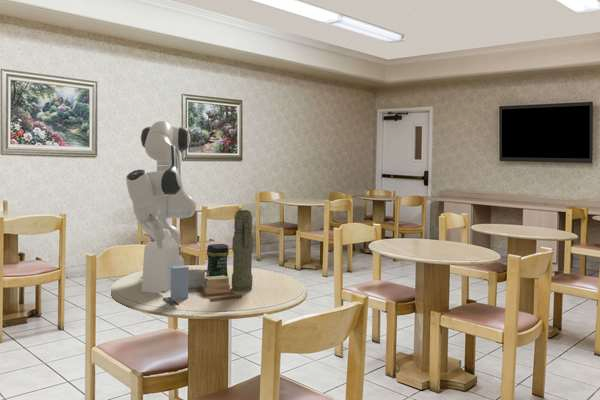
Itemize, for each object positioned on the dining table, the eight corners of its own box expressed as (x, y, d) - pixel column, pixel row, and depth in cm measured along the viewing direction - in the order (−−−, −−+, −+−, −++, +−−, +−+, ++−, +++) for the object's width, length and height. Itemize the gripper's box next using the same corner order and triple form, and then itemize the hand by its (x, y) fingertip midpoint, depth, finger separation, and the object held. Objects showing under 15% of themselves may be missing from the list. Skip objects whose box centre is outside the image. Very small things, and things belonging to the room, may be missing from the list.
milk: (180, 288, 230) (181, 228, 228) (167, 294, 219) (167, 232, 217) (156, 285, 233) (156, 227, 232) (141, 291, 222) (142, 230, 220)
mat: (163, 299, 210) (163, 297, 210) (187, 296, 216) (187, 295, 216) (170, 305, 202) (170, 303, 202) (195, 302, 207) (195, 301, 207)
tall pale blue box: (170, 299, 209) (171, 266, 208) (185, 297, 212) (185, 265, 211) (173, 301, 206) (173, 268, 205) (188, 299, 209) (188, 267, 208)
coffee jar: (211, 287, 232) (212, 245, 231) (203, 284, 238) (204, 243, 237) (230, 285, 238) (231, 244, 237) (222, 281, 244) (222, 242, 243)
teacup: (185, 293, 221) (186, 274, 221) (175, 287, 230) (175, 269, 230) (215, 289, 230) (216, 271, 229) (204, 284, 238) (205, 266, 238)
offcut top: (204, 284, 220) (204, 277, 220) (224, 282, 225) (224, 275, 224) (208, 286, 216) (208, 279, 216) (228, 284, 220) (228, 277, 220)
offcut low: (202, 291, 220) (202, 284, 220) (225, 289, 225) (225, 282, 225) (207, 294, 216) (207, 287, 216) (229, 291, 221) (229, 284, 221)
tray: (195, 293, 220) (195, 288, 220) (224, 290, 227) (224, 285, 227) (211, 304, 205) (211, 298, 205) (241, 300, 212) (241, 295, 212)
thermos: (237, 295, 220) (238, 212, 217) (227, 289, 230) (229, 209, 228) (256, 293, 224) (258, 211, 222) (246, 287, 234) (248, 209, 232)
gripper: (163, 215, 194) (172, 249, 199) (147, 203, 211) (157, 235, 216) (146, 221, 191) (156, 255, 196) (132, 209, 208) (142, 240, 213)
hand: (156, 244), depth 206 cm, fingers open, 8 cm apart
